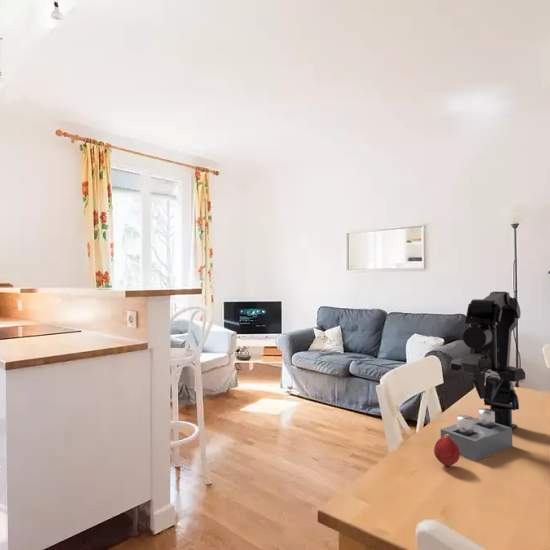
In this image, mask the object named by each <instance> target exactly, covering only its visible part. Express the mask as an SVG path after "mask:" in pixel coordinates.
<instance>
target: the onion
mask: <svg viewBox="0 0 550 550" xmlns="http://www.w3.org/2000/svg"><path fill="white" fill-rule="evenodd" d="M433 448H434V449H433V453H434V456H435V458H436V459H437V461H438V462H440V463H441V464H442V465H443V466H445V467H446V468H450V467H452V466H453V465H454V464H456V463H458V462H459V460H460V456H461V455H460V450H459V447H458V446H457V444H456V443H455V442H454V441H453V440H452V439H450V436H449V434H446V435H445V436H444V437H442V438H441V437H440V438H439V439H438V440H437V441H436V443H435V444H434V447H433Z"/></svg>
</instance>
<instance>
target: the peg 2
mask: <svg viewBox="0 0 550 550" xmlns="http://www.w3.org/2000/svg"><path fill="white" fill-rule="evenodd" d="M478 418H479V426H482V427H485V428H488V429H492V428H495V411H494V410H491V409H490V408H484V407H481V408H478Z"/></svg>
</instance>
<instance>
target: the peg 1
mask: <svg viewBox="0 0 550 550" xmlns="http://www.w3.org/2000/svg"><path fill="white" fill-rule="evenodd" d="M473 419H474V417H473V416H470V415H468V414H457V415H456V424H457V433H458V434H461V435H464V436H467V437H469V436H472V435H474V432H473Z"/></svg>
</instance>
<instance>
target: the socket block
mask: <svg viewBox="0 0 550 550" xmlns="http://www.w3.org/2000/svg"><path fill="white" fill-rule="evenodd" d="M473 432H474V435H472V436H469V437H467V436H464V435H461V434H458V433H457V423H456V424H451V425H450V426H446V427H443V428H441V429H440V438H442V437H444V436H445V435H446V434H449V436H450V439H452V440H453V441H454V442H455V443H456V444H457V446H458V447H459V450H460V456H461V457H463V458H467V459H469V460H470V461H474V462H477V461H480V460H482V459H484V458H486V457H490V456H492V455H494V454H497V453H499V452H502V451H504V450H506V449H509V448H511V447H513V429H512V428H511V427H508V426H504V425H501V424H497V423H495V428H492V429H488V428H485V427H482V426H479V417H475V418H474V417H473Z"/></svg>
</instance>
